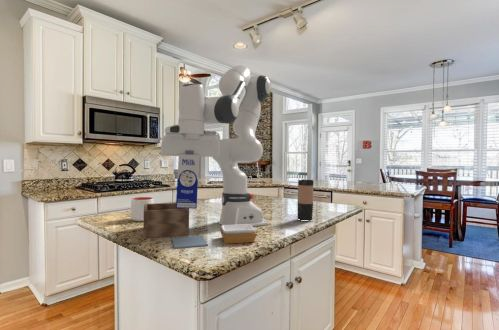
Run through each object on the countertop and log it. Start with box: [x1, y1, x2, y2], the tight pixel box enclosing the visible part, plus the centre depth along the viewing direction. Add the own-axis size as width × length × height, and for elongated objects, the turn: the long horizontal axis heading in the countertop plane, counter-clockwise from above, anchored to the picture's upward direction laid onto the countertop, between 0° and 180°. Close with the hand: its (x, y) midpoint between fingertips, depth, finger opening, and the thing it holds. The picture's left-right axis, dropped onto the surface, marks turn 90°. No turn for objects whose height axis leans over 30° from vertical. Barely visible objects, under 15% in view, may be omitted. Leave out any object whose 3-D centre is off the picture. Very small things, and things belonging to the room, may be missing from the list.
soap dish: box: [219, 224, 258, 245], centre depth 103 cm, size 12×10×5 cm
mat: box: [171, 235, 209, 249], centre depth 99 cm, size 11×11×1 cm
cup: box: [130, 196, 155, 222], centre depth 134 cm, size 10×10×10 cm
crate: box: [142, 202, 190, 239], centre depth 113 cm, size 16×16×10 cm
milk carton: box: [175, 150, 201, 210], centre depth 98 cm, size 7×7×20 cm
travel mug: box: [296, 179, 314, 221], centre depth 140 cm, size 8×8×20 cm
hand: (190, 169), depth 99 cm, fingers closed, pressing on milk carton
